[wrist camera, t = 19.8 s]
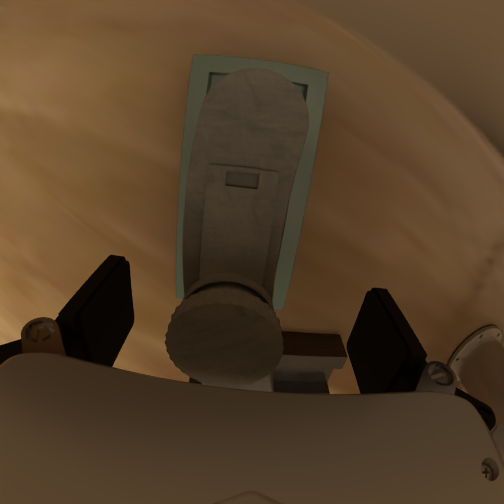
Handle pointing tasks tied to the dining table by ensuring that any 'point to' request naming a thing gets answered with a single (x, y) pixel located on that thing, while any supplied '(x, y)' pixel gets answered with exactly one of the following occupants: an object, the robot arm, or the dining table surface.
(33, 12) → the dining table surface
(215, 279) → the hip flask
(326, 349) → the switch panel
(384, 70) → the dining table surface
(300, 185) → the tray
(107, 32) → the dining table surface
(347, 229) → the dining table surface
